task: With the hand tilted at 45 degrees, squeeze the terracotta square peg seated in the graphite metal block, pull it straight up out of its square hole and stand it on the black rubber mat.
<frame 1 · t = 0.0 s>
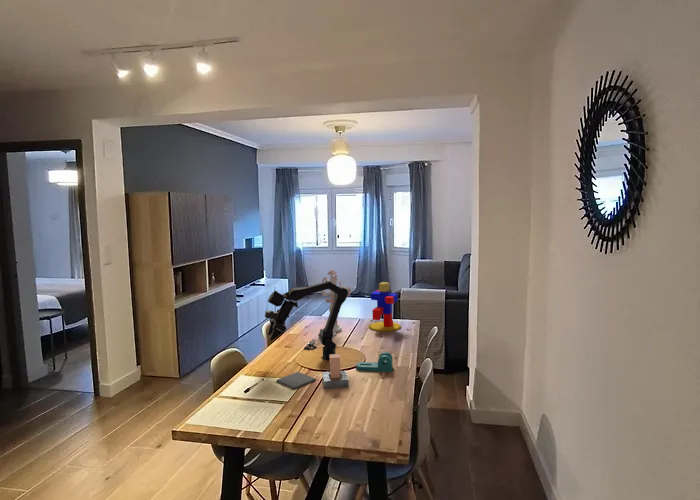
hand: (269, 337, 222), 15 cm above the table, tool tilted 35°, fingers open, 9 cm apart
figurine: (384, 327, 288), on the table
micrometer: (313, 346, 254), on the table
bracket: (374, 369, 216), on the table
socket block: (335, 383, 200), on the table
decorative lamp: (334, 331, 281), on the table
peg: (334, 369, 199), in the socket block
mat: (296, 381, 203), on the table
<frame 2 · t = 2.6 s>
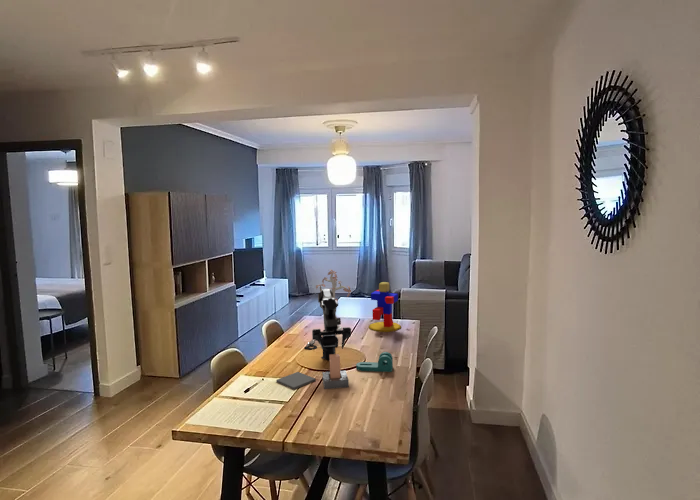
hand: (333, 349, 206), 13 cm above the table, tool tilted 45°, fingers open, 9 cm apart
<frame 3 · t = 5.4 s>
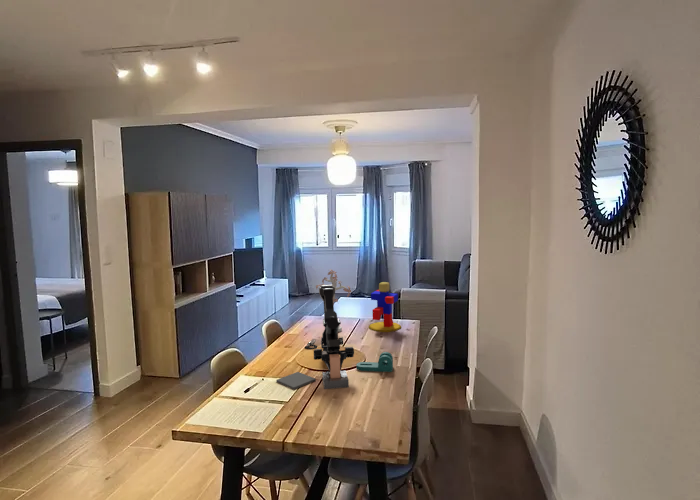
hand: (335, 370, 198), 7 cm above the table, tool tilted 45°, fingers closed on peg, 4 cm apart
peg: (335, 369, 199), in the socket block, touching gripper
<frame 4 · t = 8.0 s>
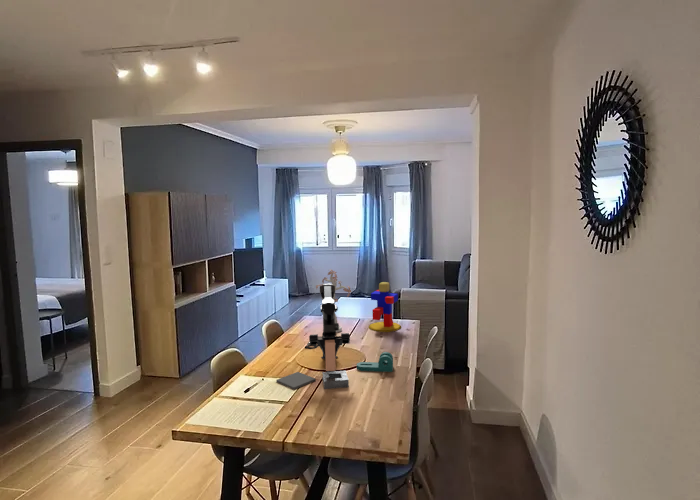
hand: (330, 356, 197), 14 cm above the table, tool tilted 45°, fingers closed on peg, 4 cm apart
peg: (330, 355, 198), point 13 cm above the table, touching gripper
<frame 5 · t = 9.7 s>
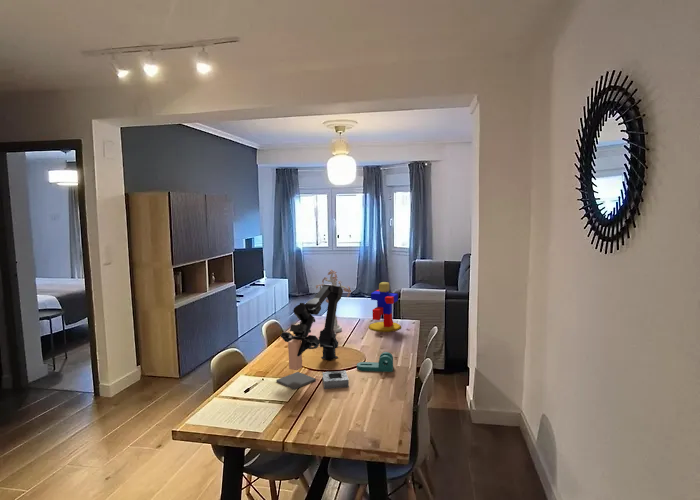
hand: (293, 355, 200), 13 cm above the table, tool tilted 45°, fingers closed on peg, 4 cm apart
peg: (295, 354, 202), point 13 cm above the table, touching gripper
when the fingers open (9 cm above the table, at t = 10.8 s): peg drops 1 cm, resting on mat.
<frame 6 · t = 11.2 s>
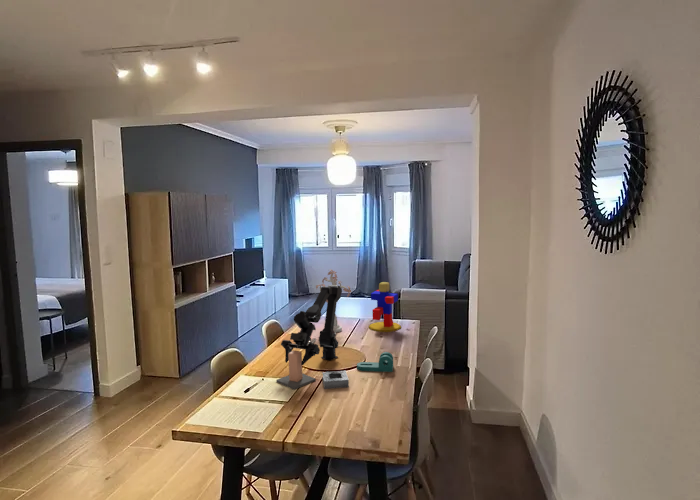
hand: (293, 363, 201), 9 cm above the table, tool tilted 45°, fingers open, 8 cm apart
peg: (295, 365, 202), on the mat, point 8 cm above the table
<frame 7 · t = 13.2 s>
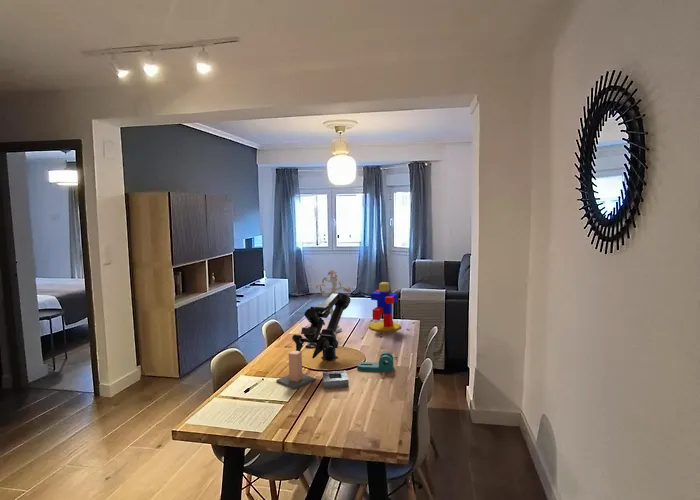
hand: (304, 356, 209), 9 cm above the table, tool tilted 45°, fingers open, 9 cm apart
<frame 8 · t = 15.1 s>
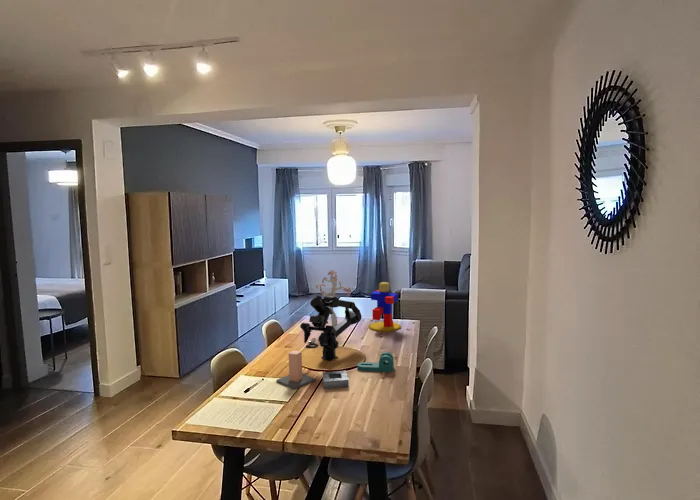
hand: (312, 344, 217), 13 cm above the table, tool tilted 45°, fingers open, 9 cm apart
at the end: peg inside the target area on the mat (0.1 cm from its centre), point 7.5 cm above the mat's base; peg tilted 0°; the gripper is holding nothing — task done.
